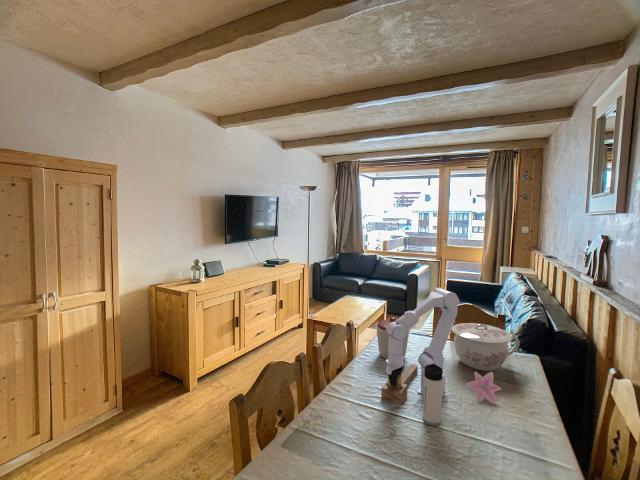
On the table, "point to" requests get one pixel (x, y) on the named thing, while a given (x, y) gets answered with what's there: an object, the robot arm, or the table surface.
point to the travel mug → (432, 395)
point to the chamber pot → (482, 345)
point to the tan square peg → (398, 385)
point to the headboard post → (400, 395)
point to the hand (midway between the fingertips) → (394, 384)
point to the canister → (387, 337)
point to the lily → (484, 386)
